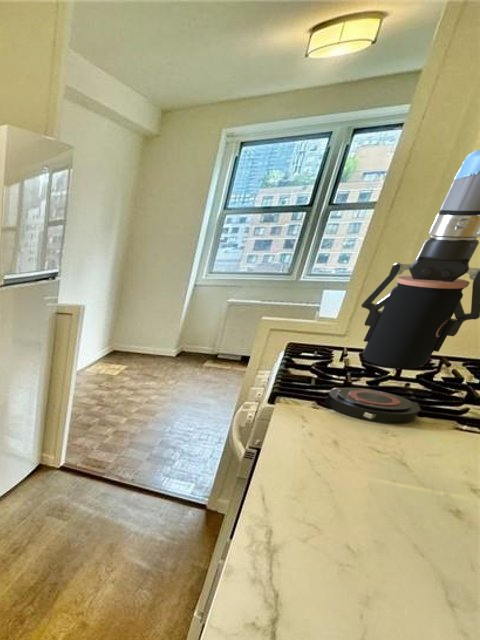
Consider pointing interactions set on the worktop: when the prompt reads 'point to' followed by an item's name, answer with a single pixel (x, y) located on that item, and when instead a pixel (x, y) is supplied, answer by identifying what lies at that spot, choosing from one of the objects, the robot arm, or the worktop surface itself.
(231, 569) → the worktop surface
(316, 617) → the worktop surface
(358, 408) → the hot plate
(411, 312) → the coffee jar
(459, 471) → the worktop surface
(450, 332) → the robot arm
